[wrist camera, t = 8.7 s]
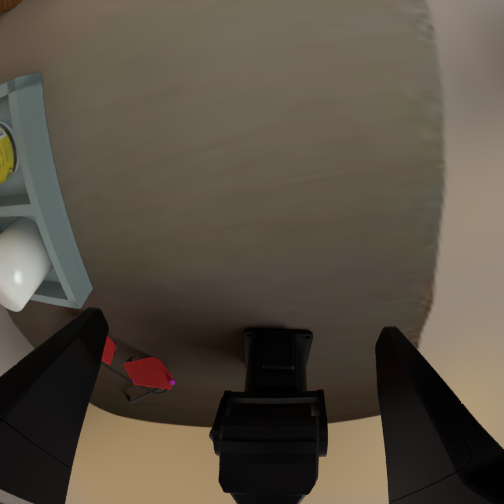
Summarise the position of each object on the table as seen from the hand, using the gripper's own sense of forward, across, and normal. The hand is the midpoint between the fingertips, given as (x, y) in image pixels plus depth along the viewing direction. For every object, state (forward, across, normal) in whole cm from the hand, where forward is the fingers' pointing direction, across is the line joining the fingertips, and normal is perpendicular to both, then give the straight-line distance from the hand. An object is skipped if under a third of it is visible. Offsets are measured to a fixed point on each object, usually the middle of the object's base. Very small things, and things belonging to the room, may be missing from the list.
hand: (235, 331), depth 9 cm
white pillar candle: (+12, +22, +6) cm, 26 cm away
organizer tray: (+13, +22, +1) cm, 26 cm away
